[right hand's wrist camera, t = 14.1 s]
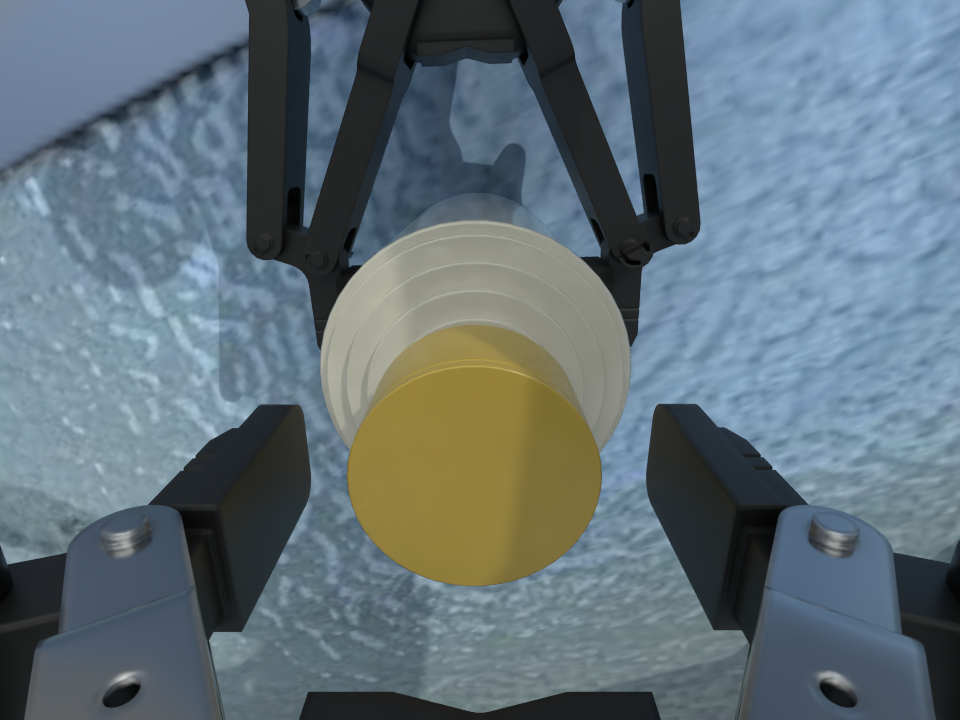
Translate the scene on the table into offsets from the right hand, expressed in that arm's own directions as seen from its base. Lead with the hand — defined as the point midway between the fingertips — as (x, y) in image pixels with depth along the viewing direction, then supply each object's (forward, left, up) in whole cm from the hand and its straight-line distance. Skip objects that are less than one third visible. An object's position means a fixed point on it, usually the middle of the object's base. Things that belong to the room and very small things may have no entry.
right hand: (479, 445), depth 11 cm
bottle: (0, 0, -17) cm, 17 cm away
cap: (0, 0, +1) cm, 1 cm away
